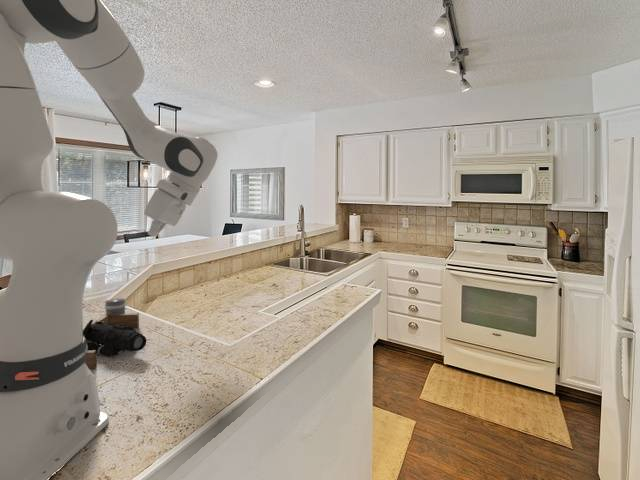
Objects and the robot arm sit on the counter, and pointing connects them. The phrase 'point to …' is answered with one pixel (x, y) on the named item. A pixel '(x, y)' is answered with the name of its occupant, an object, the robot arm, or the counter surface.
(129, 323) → the bracket
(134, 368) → the counter surface
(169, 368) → the counter surface
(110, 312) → the gray domed cylinder
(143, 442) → the counter surface
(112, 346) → the night vision scope
